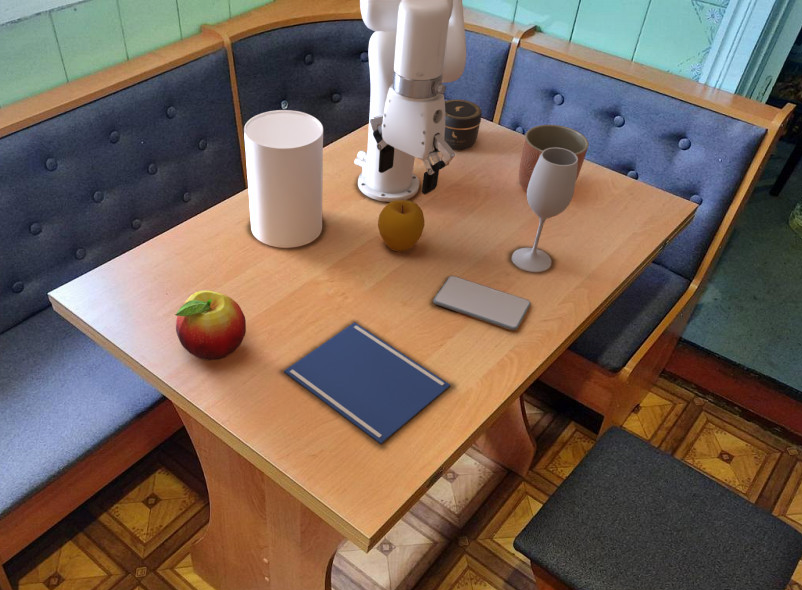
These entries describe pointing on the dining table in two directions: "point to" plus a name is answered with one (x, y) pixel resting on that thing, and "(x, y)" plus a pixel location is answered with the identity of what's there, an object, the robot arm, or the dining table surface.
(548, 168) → the wineglass
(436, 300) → the smartphone
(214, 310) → the fruit
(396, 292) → the dining table surface
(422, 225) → the apple
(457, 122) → the jar
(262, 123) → the canister
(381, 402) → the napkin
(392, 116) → the robot arm
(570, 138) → the planter
